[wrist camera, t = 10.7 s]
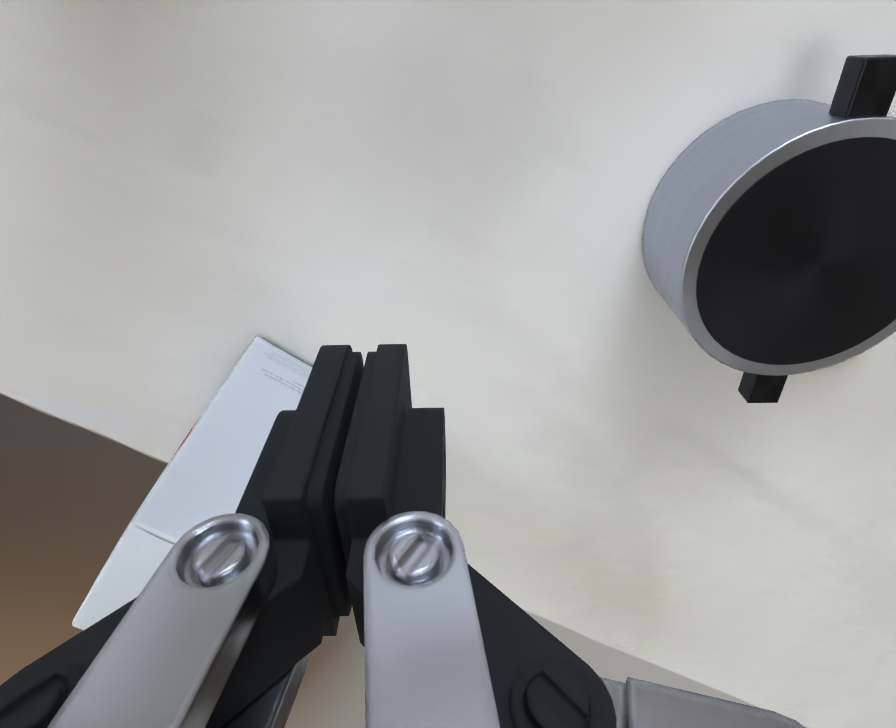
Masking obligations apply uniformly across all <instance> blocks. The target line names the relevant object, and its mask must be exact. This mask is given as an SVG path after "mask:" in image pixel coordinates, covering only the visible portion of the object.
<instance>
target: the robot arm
mask: <svg viewBox="0 0 896 728" xmlns="http://www.w3.org/2000/svg"><path fill="white" fill-rule="evenodd" d="M445 500H446V446H445V416H444V408H412V403H411V390H410V377H409V365H408V352H407V345H406V344H381V345H378V348H377V352H368V354H367V357H366V361H365V366H363V359H362V354H361V352H352V348H351V346H350V345H324V346H321V348H320V350H319V352H318V355H317V357H316V360H315V363H314V365H313V368H312V370H311V373H310V375H309V378H308V381H307V383H306V386H305V388H304V391H303V393H302V396H301V399H300V401H299V404H298V406H297V409H296V410H282V411H281V412H279V414H278V415H277V417H276V419H275V421H274V424H273V426H272V428H271V431H270V433H269V435H268V438H267V440H266V442H265V444H264V447H263V449H262V451H261V454H260V456H259V458H258V461H257V463H256V465H255V468H254V470H253V472H252V475H251V477H250V479H249V482H248V484H247V486H246V489H245V491H244V493H243V496H242V498H241V500H240V503H239V505H238V507H237V510H236V512H235V513H232V514H224V515H220V516H216V517H212V518H210V519H207V520H205V521H203V522H201V523H199V524H197V525H196V526H194V527H193V528H191V529H190V530H189V531H187V532H186V533H185V534H183V535H182V537H181V538H180V539H179V540H178V541H177V542H176V543H175V544H174V546H173V547H172V548H171V550H170V551H169V553H168V554H167V555H166V557H165V558H164V560H163V561H162V563H161V564H160V565H159V567H158V568H157V570H156V571H155V573H154V574H153V576H152V577H151V578H150V580H149V581H148V583H147V584H146V586H145V587H144V588H143V590H142V591H141V593H140V594H139V596H138V597H136V598H135V599H133V600H131V601H130V602H128V603H127V604H125V605H123V606H122V607H120V608H119V609H117V610H115V611H114V612H112V613H111V614H109V615H107V616H106V617H104V618H103V619H101V620H100V621H98V622H96V623H95V624H93V625H92V626H90V627H88V628H87V629H85V630H84V631H82V632H81V633H79V634H77V635H76V636H74V637H72V638H71V639H69V640H68V641H67V642H65V643H63V644H61V645H60V646H58V647H57V648H55V649H54V650H52V651H50V652H49V653H47V654H45V655H44V656H42V657H41V658H39V659H37V660H36V661H34V662H33V663H31V664H30V665H28V666H26V667H25V668H23V669H22V670H20V671H19V672H18V673H16V674H15V675H14V676H12V677H11V678H10V679H8V680H7V681H6V682H4V683H3V684H2V685H1V686H0V728H284V727H285V725H286V722H287V719H288V716H289V714H290V711H291V708H292V705H293V703H294V700H295V697H296V695H297V692H298V689H299V686H300V684H301V681H302V678H303V675H304V673H305V668H306V663H307V654H309V653H310V652H311V651H312V650H313V649H315V648H316V647H317V646H318V645H319V644H321V642H322V637H323V636H336V633H337V628H338V622H339V617H340V616H349V614H350V611H351V607H352V606H353V611H354V616H355V620H356V625H357V630H358V634H359V639H360V643H361V644H362V645H363V646H364V647H365V714H366V715H365V717H366V728H805V727H803V726H802V725H801V724H800V723H798V722H797V721H796V720H793V719H791V718H788V717H786V716H783V715H781V714H779V713H776V712H774V711H769V710H765V709H761V708H757V707H752V706H748V705H744V704H740V703H735V702H731V701H727V700H723V699H719V698H714V697H710V696H706V695H701V694H698V693H693V692H689V691H685V690H681V689H676V688H672V687H668V686H663V685H660V684H655V683H651V682H647V681H643V680H638V679H634V678H630V677H628V678H627V681H626V683H622V682H618V681H614V680H610V679H606V678H601V677H599V676H598V675H597V674H596V673H595V672H594V671H593V669H592V668H591V667H590V666H589V665H588V664H586V663H585V662H584V661H583V660H581V658H579V657H578V656H577V655H576V654H575V653H573V652H572V651H571V650H570V649H569V648H567V647H566V646H565V645H564V644H563V643H562V642H560V641H559V640H558V639H557V638H556V637H554V636H553V635H552V634H551V633H550V632H548V631H547V630H546V629H545V628H544V627H542V626H541V625H540V624H539V623H538V622H536V621H535V620H534V619H533V618H532V617H530V616H529V615H528V614H527V613H526V612H525V611H523V610H522V609H521V608H520V607H519V606H517V605H516V604H515V603H514V602H513V601H512V600H510V599H509V598H508V597H507V596H506V595H504V594H503V593H502V592H501V591H500V590H498V589H497V588H496V587H495V586H494V585H492V584H491V583H490V582H489V581H488V580H486V579H485V578H484V577H483V576H482V575H481V574H479V573H478V572H477V571H476V570H475V569H473V568H472V567H471V566H470V565H469V564H467V560H466V555H465V550H464V545H463V542H462V539H461V537H460V534H459V532H458V531H457V529H456V528H455V527H454V526H453V525H452V524H451V523H450V522H449V521H448V520H446V519H445Z"/></svg>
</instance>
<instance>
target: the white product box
mask: <svg viewBox="0 0 896 728" xmlns="http://www.w3.org/2000/svg"><path fill="white" fill-rule="evenodd" d="M311 370H312V367H311V366H309V365H307V364H305V363H304V362H302V361H300V360H299V359H297V358H295V357H293V356H291V355H290V354H288V353H286V352H284V351H283V350H281V349H279V348H277V347H276V346H274V345H272V344H270V343H269V342H267V341H265V340H263V339H262V338H260V337H255V338H254V339H253V341H252V342H251V344H250V345H249V347H248V348H247V350H246V351H245V353H244V354H243V355H242V357H241V358H240V360H239V361H238V363H237V364H236V365H235V367H234V368H233V370H232V371H231V372H230V374H229V375H228V377H227V378H226V380H225V381H224V382H223V384H222V385H221V387H220V388H219V390H218V391H217V392H216V394H215V395H214V397H213V398H212V400H211V401H210V403H209V404H208V406H207V407H206V409H205V410H204V411H203V413H202V414H201V416H200V417H199V419H198V420H197V422H196V423H195V425H194V426H193V428H192V429H191V431H190V432H189V434H188V435H187V437H186V438H185V440H184V441H183V443H182V444H181V446H180V447H179V449H178V450H177V452H176V453H175V455H174V456H173V458H172V459H171V461H170V462H169V464H168V465H167V467H166V468H165V470H164V471H163V473H162V474H161V476H160V477H159V479H158V480H157V482H156V483H155V485H154V486H153V488H152V489H151V491H150V492H149V494H148V496H147V497H146V499H145V500H144V502H143V504H142V505H141V506H140V508H139V510H138V511H137V513H136V514H135V516H134V517H133V519H132V520H131V522H130V523H129V525H128V527H127V528H126V530H125V532H124V533H123V535H122V536H121V538H120V540H119V541H118V543H117V545H116V546H115V548H114V550H113V552H112V553H111V555H110V557H109V558H108V560H107V562H106V563H105V565H104V567H103V569H102V570H101V572H100V574H99V576H98V577H97V579H96V581H95V583H94V584H93V586H92V588H91V590H90V591H89V594H88V595H87V597H86V598H85V600H84V603H83V604H82V605H81V607H80V609H79V611H78V613H77V614H76V616H75V618H74V620H73V622H72V626H74V627H77V628H80V629H83V630H85V629H87V628H88V627H90V626H92V625H93V624H95V623H96V622H98V621H100V620H101V619H103V618H104V617H106V616H107V615H109V614H111V613H112V612H114V611H115V610H117V609H119V608H120V607H122V606H123V605H125V604H127V603H128V602H130V601H131V600H133V599H135V598H136V597H138V596H139V594H140V593H141V591H142V590H143V588H144V587H145V586H146V584H147V583H148V581H149V580H150V578H151V577H152V576H153V574H154V573H155V571H156V570H157V568H158V567H159V565H160V564H161V563H162V561H163V560H164V558H165V557H166V555H167V554H168V553H169V551H170V550H171V548H172V547H173V546H174V544H175V543H176V542H177V541H178V540H179V539H180V538H181V537H182V535H183V534H185V533H186V532H187V531H189V530H190V529H191V528H193V527H194V526H196V525H197V524H199V523H201V522H203V521H205V520H207V519H210V518H212V517H216V516H220V515H224V514H232V513H235V512H236V510H237V507H238V505H239V503H240V500H241V498H242V496H243V493H244V491H245V489H246V486H247V484H248V482H249V479H250V477H251V475H252V472H253V470H254V468H255V465H256V463H257V461H258V458H259V456H260V454H261V451H262V449H263V447H264V444H265V442H266V440H267V438H268V435H269V433H270V431H271V428H272V426H273V424H274V421H275V419H276V417H277V415H278V414H279V412H281V411H282V410H296V409H297V406H298V404H299V401H300V399H301V396H302V393H303V391H304V388H305V386H306V383H307V381H308V378H309V375H310V373H311Z"/></svg>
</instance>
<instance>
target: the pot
mask: <svg viewBox="0 0 896 728" xmlns="http://www.w3.org/2000/svg"><path fill="white" fill-rule="evenodd" d="M895 92H896V55H859V56H848V57H847V58H846V61H845V64H844V67H843V70H842V74H841V77H840V80H839V83H838V86H837V89H836V92H835V95H834V98H833V101H832V104H831V105H830V104H825V103H820V102H815V101H810V100H782V101H773V102H769V103H765V104H761V105H757V106H754V107H751V108H749V109H746V110H743V111H740V112H738V113H736V114H734V115H732V116H730V117H728V118H726V119H724V120H723V121H721V122H720V123H718V124H716V125H715V126H713V127H712V128H710V129H709V130H707V131H706V132H705V133H704V134H702V135H701V136H700V137H699V138H697V139H696V140H695V141H694V142H693V143H692V144H691V145H690V146H689V147H688V148H687V149H686V150H685V151H683V152H682V153H681V155H680V156H679V157H678V158H677V159H676V161H675V162H674V163H673V164H672V165H671V167H670V168H669V169H668V171H667V172H666V174H665V176H664V177H663V179H662V180H661V182H660V183H659V185H658V187H657V189H656V191H655V193H654V195H653V197H652V200H651V203H650V205H649V208H648V211H647V215H646V219H645V223H644V229H643V238H642V245H643V257H644V262H645V267H646V270H647V272H648V275H649V278H650V280H651V281H652V283H653V285H654V287H655V288H656V290H657V291H658V292H659V294H660V295H661V296H662V298H663V299H664V300H665V301H666V303H667V304H668V305H669V307H670V308H671V309H672V311H673V312H674V313H675V315H676V316H677V317H678V319H679V320H680V321H681V323H682V324H683V325H684V326H685V328H686V329H687V330H688V332H689V333H690V334H691V336H692V337H693V338H694V340H695V341H696V342H697V343H698V345H699V346H700V347H701V348H702V349H703V350H704V351H705V352H706V353H707V354H709V355H710V356H711V357H713V358H714V359H716V360H717V361H719V362H720V363H722V364H725V365H727V366H729V367H731V368H734V369H737V370H740V371H744V373H743V376H742V379H741V383H740V386H739V389H738V391H739V392H740V394H741V395H742V396H743V398H744V399H745V400H746V401H747V403H777V402H778V400H779V397H780V395H781V392H782V390H783V387H784V384H785V382H786V379H787V376H788V375H793V374H800V373H806V372H811V371H815V370H819V369H822V368H826V367H829V366H832V365H835V364H838V363H840V362H843V361H845V360H848V359H850V358H852V357H854V356H856V355H859V354H861V353H863V352H864V351H866V350H868V349H870V348H871V347H873V346H875V345H877V344H878V343H880V342H881V341H883V340H884V339H886V338H887V337H889V336H890V335H892V334H893V333H894V332H896V118H892V117H888V116H887V113H888V110H889V108H890V105H891V102H892V100H893V97H894V95H895Z"/></svg>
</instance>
